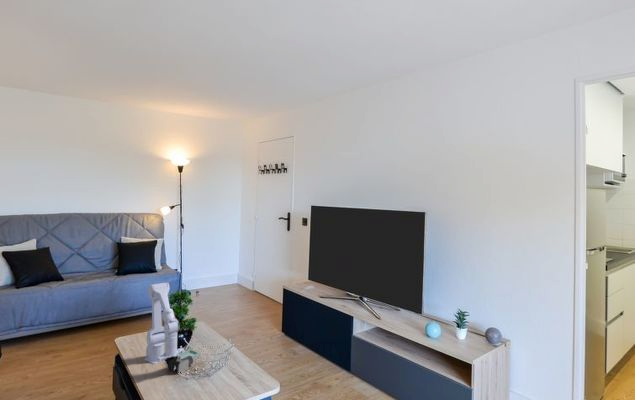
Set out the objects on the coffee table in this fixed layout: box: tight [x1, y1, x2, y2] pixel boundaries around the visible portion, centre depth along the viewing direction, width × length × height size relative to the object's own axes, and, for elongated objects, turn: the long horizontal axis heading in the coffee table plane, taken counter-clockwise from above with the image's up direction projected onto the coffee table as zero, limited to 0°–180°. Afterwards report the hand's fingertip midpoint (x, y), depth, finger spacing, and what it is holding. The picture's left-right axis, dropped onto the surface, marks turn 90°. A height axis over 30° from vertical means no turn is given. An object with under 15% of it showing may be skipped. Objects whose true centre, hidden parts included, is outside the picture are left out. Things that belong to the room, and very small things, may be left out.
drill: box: [172, 356, 194, 372], centre depth 191 cm, size 11×5×5 cm, turn 148°
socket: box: [176, 356, 190, 374], centre depth 190 cm, size 8×6×6 cm
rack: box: [177, 349, 201, 360], centre depth 202 cm, size 8×15×2 cm, turn 148°
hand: (170, 370), depth 186 cm, fingers closed
